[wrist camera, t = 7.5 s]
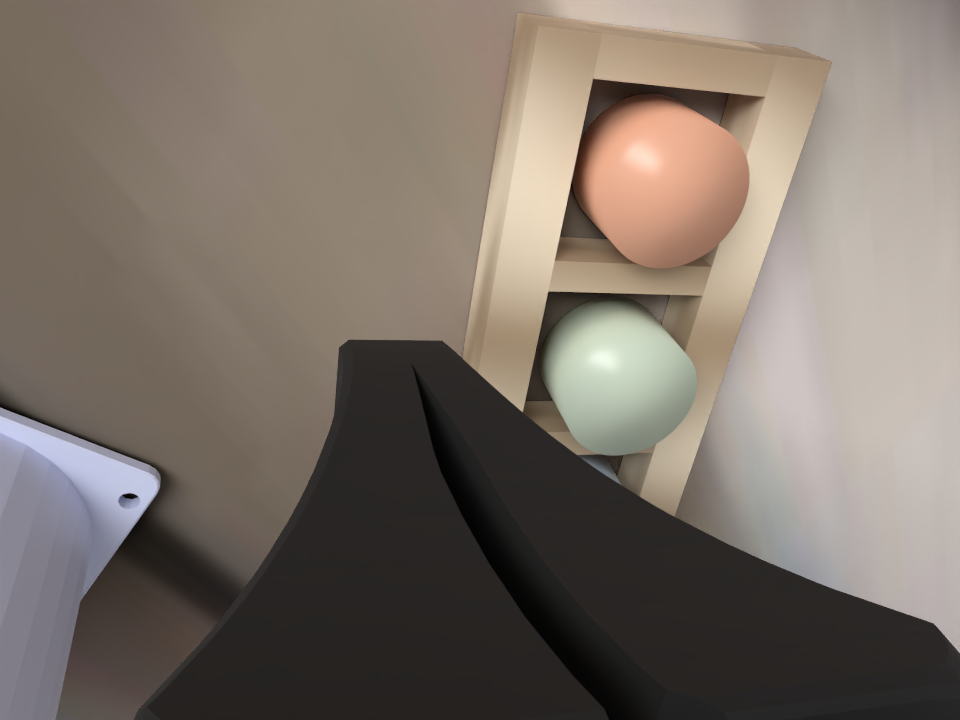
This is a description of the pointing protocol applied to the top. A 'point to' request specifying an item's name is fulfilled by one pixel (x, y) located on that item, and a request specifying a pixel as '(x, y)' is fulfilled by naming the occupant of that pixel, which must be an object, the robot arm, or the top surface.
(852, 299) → the top surface
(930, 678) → the robot arm
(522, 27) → the button panel
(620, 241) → the terracotta button
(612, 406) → the sage button
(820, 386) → the top surface
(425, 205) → the top surface
